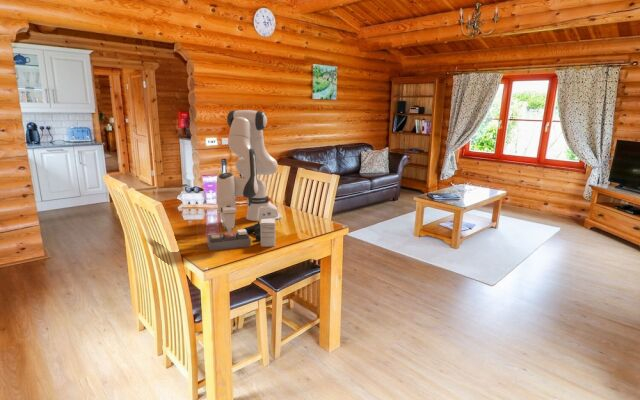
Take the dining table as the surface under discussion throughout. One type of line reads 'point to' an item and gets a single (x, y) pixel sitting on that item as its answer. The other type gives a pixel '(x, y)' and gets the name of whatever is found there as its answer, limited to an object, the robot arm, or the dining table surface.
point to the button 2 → (242, 231)
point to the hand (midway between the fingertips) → (227, 232)
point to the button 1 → (215, 236)
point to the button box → (228, 241)
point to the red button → (229, 235)
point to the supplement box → (267, 232)
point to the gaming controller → (255, 231)
